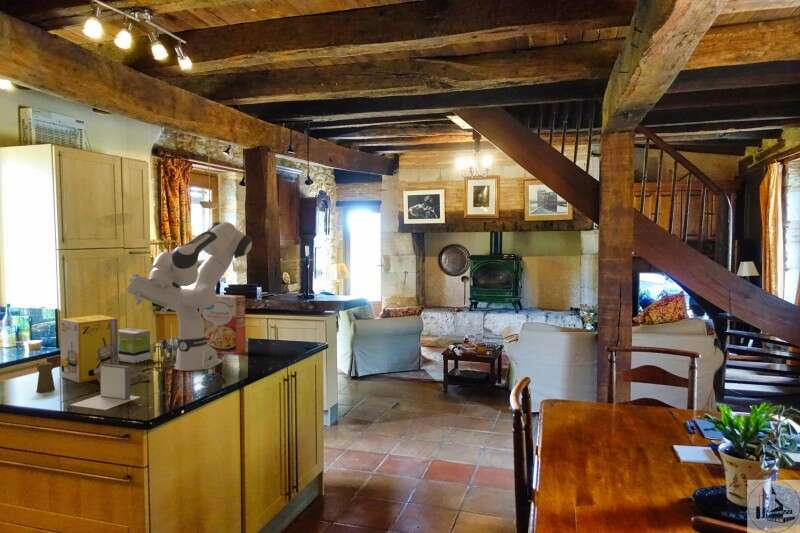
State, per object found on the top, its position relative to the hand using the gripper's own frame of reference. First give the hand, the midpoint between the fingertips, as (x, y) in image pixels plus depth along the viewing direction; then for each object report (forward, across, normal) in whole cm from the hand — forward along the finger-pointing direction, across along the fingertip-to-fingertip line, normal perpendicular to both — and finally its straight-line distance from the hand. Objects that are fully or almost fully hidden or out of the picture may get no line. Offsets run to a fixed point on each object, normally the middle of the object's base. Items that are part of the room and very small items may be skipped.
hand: (150, 308), depth 202 cm
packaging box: (-3, -2, +56) cm, 56 cm away
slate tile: (+26, +3, +23) cm, 35 cm away
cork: (+14, -16, +49) cm, 54 cm away
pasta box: (-37, +53, +52) cm, 83 cm away
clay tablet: (+6, +7, +42) cm, 43 cm away
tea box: (-26, +14, +68) cm, 74 cm away
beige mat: (+29, 0, +23) cm, 37 cm away
